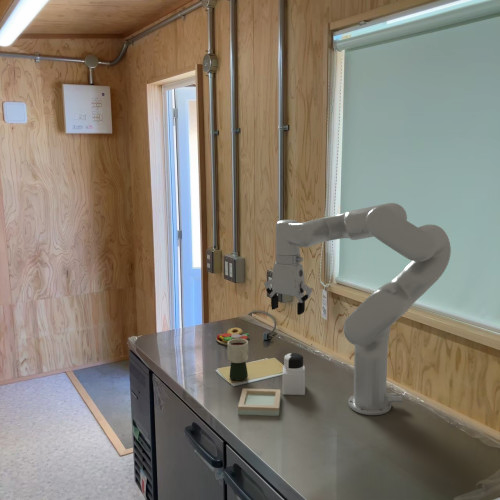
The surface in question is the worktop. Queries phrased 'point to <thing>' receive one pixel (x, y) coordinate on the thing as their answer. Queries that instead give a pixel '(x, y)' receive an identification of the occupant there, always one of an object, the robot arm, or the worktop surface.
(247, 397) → the beige square tray
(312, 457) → the worktop surface
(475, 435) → the worktop surface
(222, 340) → the toy food set
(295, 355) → the medicine bottle
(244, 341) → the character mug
